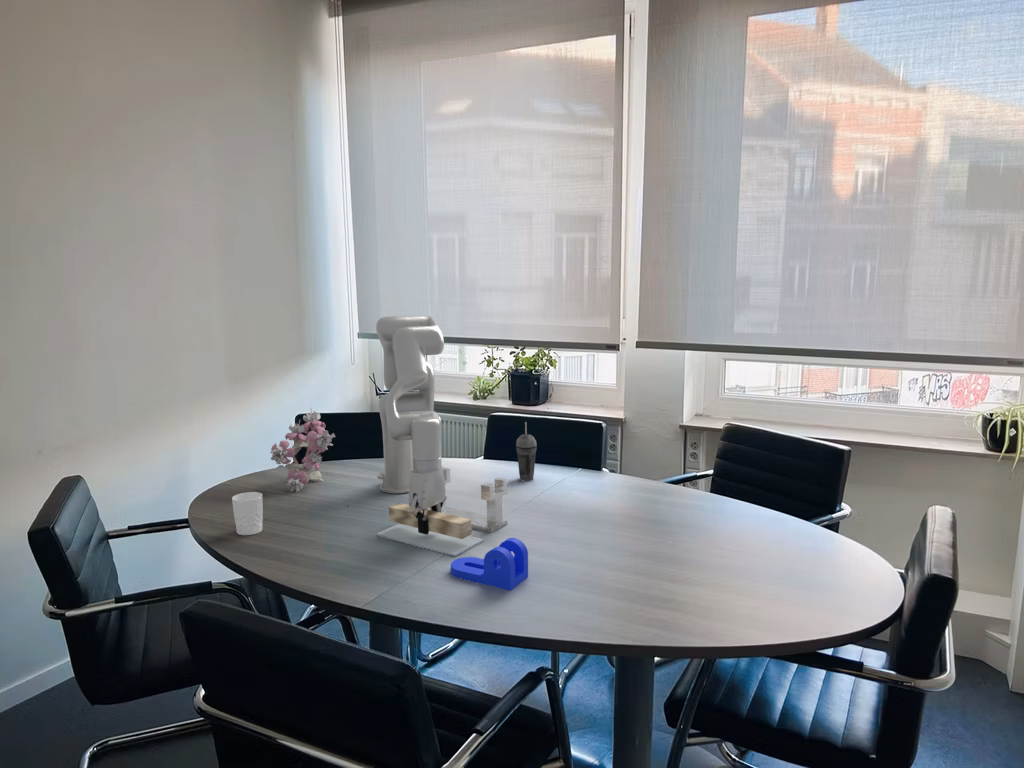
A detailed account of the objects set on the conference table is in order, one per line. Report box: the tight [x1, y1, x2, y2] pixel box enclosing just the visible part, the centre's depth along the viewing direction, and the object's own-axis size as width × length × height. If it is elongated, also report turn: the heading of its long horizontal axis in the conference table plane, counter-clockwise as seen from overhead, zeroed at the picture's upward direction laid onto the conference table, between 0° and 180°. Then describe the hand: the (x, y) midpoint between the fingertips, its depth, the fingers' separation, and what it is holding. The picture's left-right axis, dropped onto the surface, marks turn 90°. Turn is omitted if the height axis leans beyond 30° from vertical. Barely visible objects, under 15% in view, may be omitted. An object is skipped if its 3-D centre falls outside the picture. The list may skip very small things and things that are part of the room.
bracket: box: [450, 537, 529, 591], centre depth 169 cm, size 18×8×9 cm, turn 61°
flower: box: [270, 407, 336, 493], centre depth 241 cm, size 20×22×25 cm
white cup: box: [231, 491, 264, 536], centre depth 200 cm, size 8×8×10 cm
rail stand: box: [441, 467, 508, 533], centre depth 205 cm, size 23×8×13 cm, turn 56°
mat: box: [376, 523, 485, 557], centre depth 193 cm, size 27×12×1 cm, turn 56°
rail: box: [388, 502, 473, 539], centre depth 193 cm, size 25×4×4 cm, turn 56°
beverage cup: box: [515, 421, 538, 482], centre depth 244 cm, size 7×7×20 cm
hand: (429, 529), depth 193 cm, fingers closed on rail, 3 cm apart
